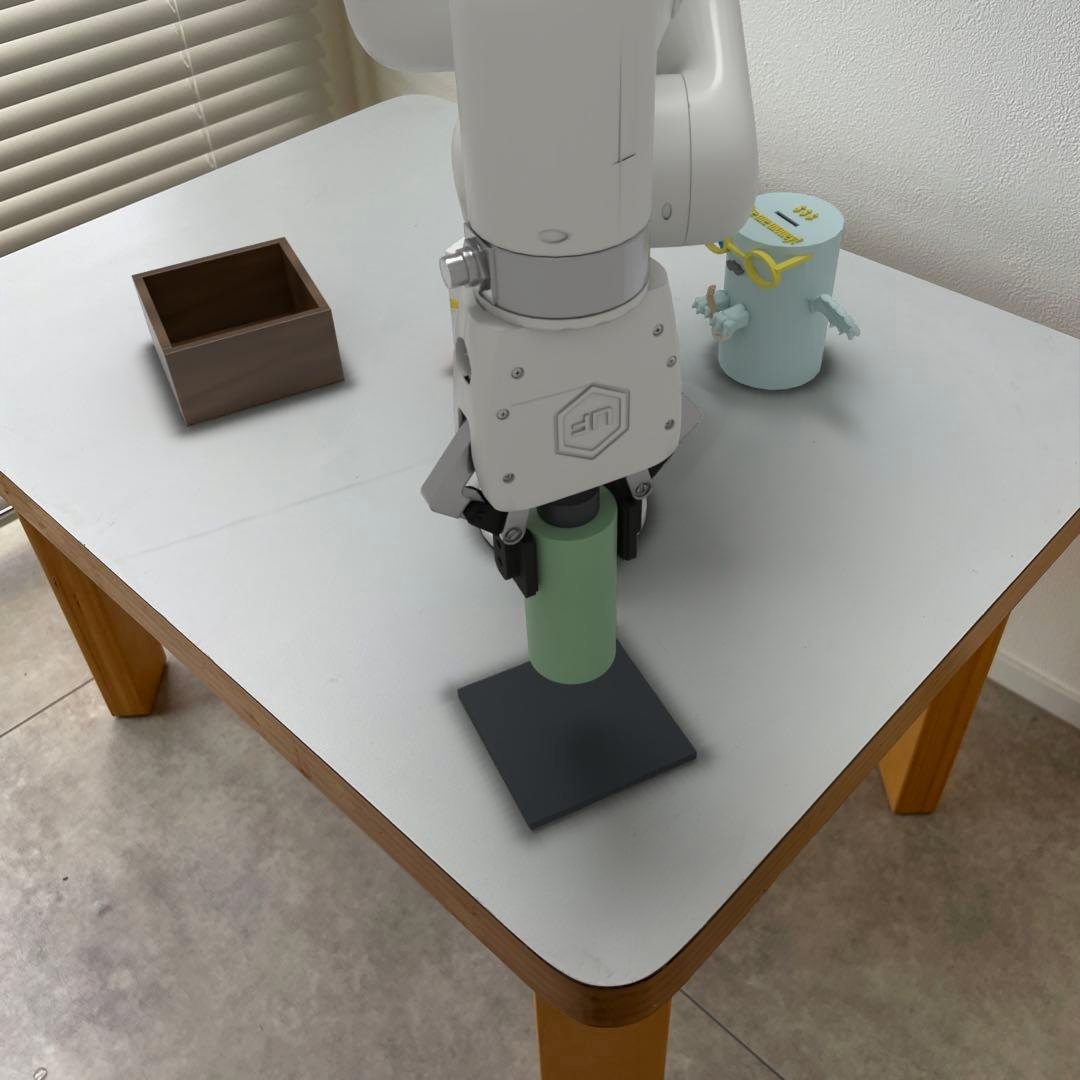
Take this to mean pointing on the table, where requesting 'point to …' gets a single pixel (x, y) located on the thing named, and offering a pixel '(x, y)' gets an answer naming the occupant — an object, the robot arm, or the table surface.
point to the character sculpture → (778, 292)
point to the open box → (239, 329)
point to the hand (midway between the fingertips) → (569, 559)
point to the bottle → (574, 587)
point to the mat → (573, 735)
